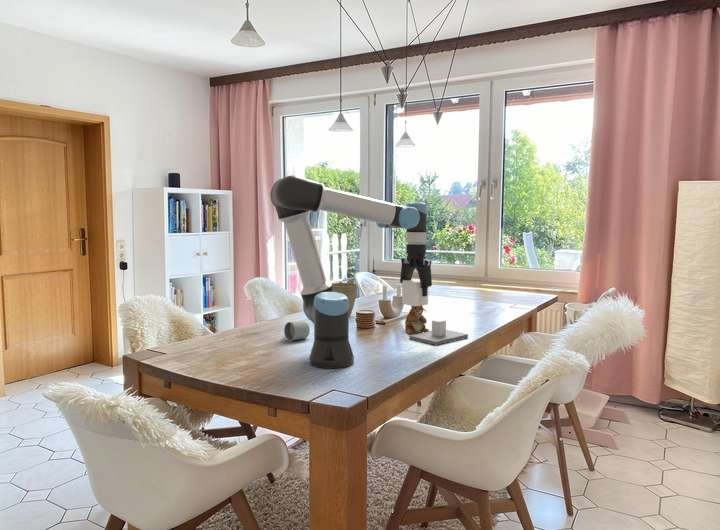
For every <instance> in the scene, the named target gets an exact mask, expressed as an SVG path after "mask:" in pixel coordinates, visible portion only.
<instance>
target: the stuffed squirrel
mask: <svg viewBox="0 0 720 530" xmlns="http://www.w3.org/2000/svg"><path fill="white" fill-rule="evenodd" d="M410 307H411V308H410V309H409V310H408V313H407V315H406V317H405V318H406V319H405V321H404V325H405V326H404V328H405V329H404V331H405V332H406V333H407V335H413V333H414V332H418V333H423V332H429V331H430V330H429V329H428V328H426V324H427V322H428V321H427V318H426V317H425V316H424V315H423V312H425V313H427V312H428V311H427V310H426V309H425V307H424V305H421V306H411V305H410Z"/></svg>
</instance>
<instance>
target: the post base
mask: <svg viewBox="0 0 720 530" xmlns="http://www.w3.org/2000/svg"><path fill="white" fill-rule="evenodd" d="M408 337H409V338H408V339H409V340H411V341H415V340H416V341H415V342H419V341H420V342H419V343H423V342H425V343H424V344H427V343H429V344H428V345H431V344H434V345H433V346H435V345H436V346H439V345H438V344H440V345H443V344H442V343H444V344H447V343H446V342H448V343H451V342H450V341H453V342H455V341H454V340H457V341H460V340H459V339H461V340H463V339H462V338H465V339H467V338H466V337H468V338H469V333H465V332H464V333H463V332H460V331H459V332H458V331H456V330H455V331H454V330H449V329H447V320H444V319H440V318H438V319H432V320H431V330H429V332H424V333H423V332H418V333H415V334H409V336H408Z"/></svg>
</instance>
